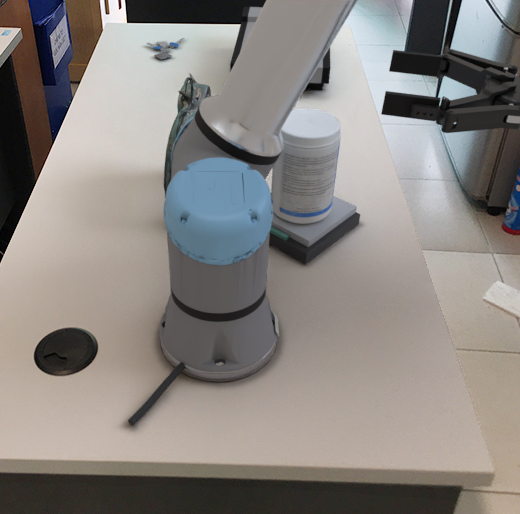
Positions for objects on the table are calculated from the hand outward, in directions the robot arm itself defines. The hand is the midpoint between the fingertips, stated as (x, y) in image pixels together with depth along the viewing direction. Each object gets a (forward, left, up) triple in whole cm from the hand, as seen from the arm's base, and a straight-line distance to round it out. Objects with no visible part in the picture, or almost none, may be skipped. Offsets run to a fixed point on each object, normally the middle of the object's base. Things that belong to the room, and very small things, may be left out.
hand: (387, 80), depth 82 cm
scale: (-5, +9, -25) cm, 27 cm away
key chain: (+30, +79, -25) cm, 88 cm away
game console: (+42, +50, -25) cm, 70 cm away
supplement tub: (-4, +8, -22) cm, 24 cm away
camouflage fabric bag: (-11, +27, -25) cm, 38 cm away
